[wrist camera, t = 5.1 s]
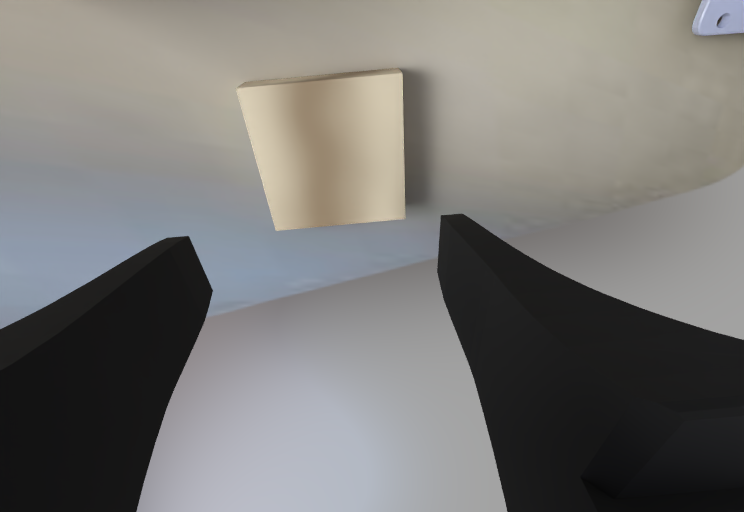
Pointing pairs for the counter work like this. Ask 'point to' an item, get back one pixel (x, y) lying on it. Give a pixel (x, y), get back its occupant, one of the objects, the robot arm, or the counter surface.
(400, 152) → the birch block
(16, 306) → the counter surface
